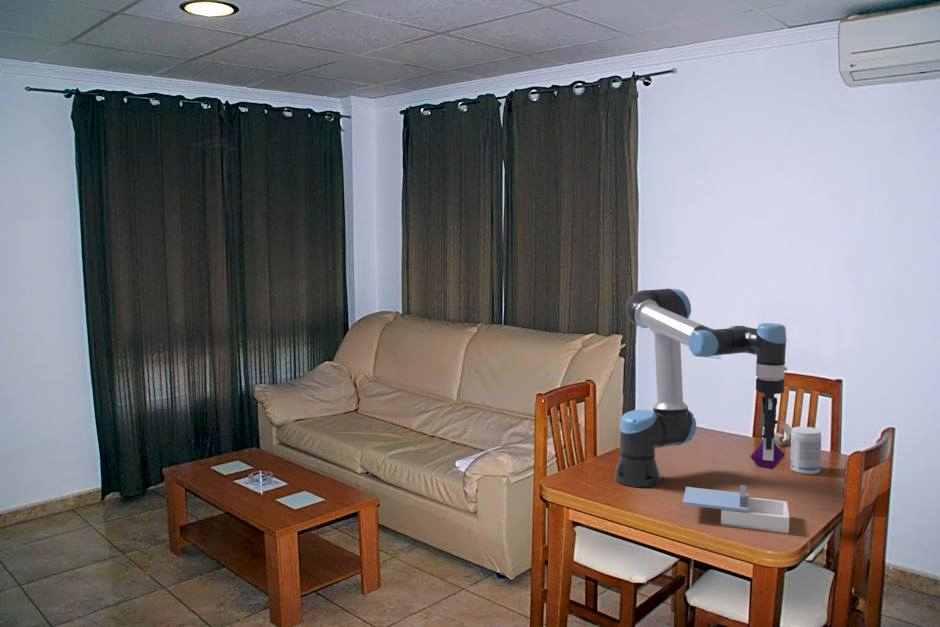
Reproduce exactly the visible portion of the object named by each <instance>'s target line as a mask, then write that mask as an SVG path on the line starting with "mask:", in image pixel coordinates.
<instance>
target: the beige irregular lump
mask: <svg viewBox="0 0 940 627" xmlns="http://www.w3.org/2000/svg"><path fill="white" fill-rule="evenodd" d="M779 426H780V428H781V430H782V431H783V432H785V434H786V438H785V435H784V434H781V433H780V432H774V435H775V437H774V443H775V444H776V445H779V446H780V447H782V446H786V445H787V446H788V445H790V446H791V432H792V427H791V426H790V424H788V423H787V422H783V421H782V422H781V423H780V424H779ZM784 438H785V439H784ZM783 439H784V440H783ZM785 444H786V445H785Z"/></svg>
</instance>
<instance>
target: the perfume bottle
mask: <svg viewBox="0 0 940 627" xmlns="http://www.w3.org/2000/svg"><path fill="white" fill-rule="evenodd" d="M776 418H777V414H775V421H774V426H775V427H776V425H777V424H778V423H779V420H776ZM762 423H765V419H764V420H762ZM770 434H772V433H770ZM763 441H764V439H763V438H762V441H761V443H760V444H759V445H758V447H756V449H755V450H754V451H753V452H752V453H751V454H750V458H751V460H752V461H753V462H754V464H755V465H756V466H757V467H758V468H762V469H768V470H774V469H775V468H776V467H777V466H778V465H779V463H781V461H782V460H783V459H784V457H785V456H786V454H785V453H784V452H783V451H782V450H781V449H780V448H779V447H778V446H777V444H775V443H774V456H773V461H769V460H763Z"/></svg>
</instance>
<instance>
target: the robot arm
mask: <svg viewBox="0 0 940 627" xmlns="http://www.w3.org/2000/svg"><path fill="white" fill-rule="evenodd" d="M625 314H626V318H628V320H629V321H630V322H631V323H633V324H634V325H635V326H638V327H640V328H642V329H648V328H649V330H650V331H652V333H653V335H654V353H655V354H654V356H655V378H656V379H655V380H656V396H657V397H656V399H657V400H656V403H655V404H654V405H653V407H652V408H653V409H652V410H651V409H633V410H630V411H627V412H626V413H624V414H623V415H622V416H621V419H620V425H619V430H620V434H619V436H620V438H619V439H620V440H619V442H620V443H619V444H620V447H619V449H620V450H619V454H620V455H619V459H618V463H617V465H616V467H615V470H614V471H615V472H614V480H615V481H616V482H617V483H619V484H620V485H623V486H627V487H631V488H633V487H634V488H650V487H655V486H657V485H659V484H660V483H661V473H660V470H659V466H658V464H657V461H656V460H657V459H656V449H658V448H659V449H660V448H665V447H673V446H681V445H683V444H688V443H690V442H691V440H692V439H693V438H694V436H695V434H696V432H697V420H696V418H695V417H694V413H693V412H692V411H690V410H689V406H688V404H686V403H685V402H684V391H683V369H682V368H683V367H682V352H681V350H682V349H681V344H683V345H684V346H687V347H688V349H689V350H690V351H691V353H692V355H694V356H695V357H702V358H703V357H704V358H709V357H714V356H726V355H734V354H742V353H743V354H750V355H754V356H756V364H755V365H756V366H755V376H756V377H757V378H756V379H755V391H757V392H758V393H761V394H763V396H761V404H762V414H763V420H764V419H765V423H763V422H762V423H763V424H762V426H763V427H762V434H761V436H760V437H761V439H762V441H763V439H764V441H763V460H769V461H773V456H774V437H775V435H774V433H775V428H776V425H775V426H774V421H775V420H776V419H775V415H777V405H778V398H777V397H776V396H775V395H777V394H778V395H780V394H782V393H785V380H784V378H785V372H786V371H788V368H787V367H786V349H787V348H786V346H787V340H788V339H787V329H786V326H785V325H784V324H781V323H771V322H770V323H769V322H768V323H767V322H765V323H759V324H758V325H757V328H754V327H749V326H745V325H731V326H730V327H728V328H717V329H714V328H711V327H708V326H705V325H703V324H701V323H698V322H696V321H695V320H692V319H689V318H690V316H691V314H692V305H691V301H690V299H689V297H688V296H687V294H686V293H685V292H684V291H683V290H681V289H678V288H662V289H658V288H657V289H643V290H639V291H636V292H634V293H632V295H630V296H629V297H628V299H627V301H626V304H625ZM763 420H762V421H763ZM770 433H772V434H770Z"/></svg>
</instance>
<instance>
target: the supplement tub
mask: <svg viewBox="0 0 940 627" xmlns="http://www.w3.org/2000/svg"><path fill="white" fill-rule="evenodd" d="M791 429H792V432H791V441H790V469H791V470H792V471H793V472H795V473H798V474H802V475H816V474H819V473H820V472H821V465H822V463H821V460H822V459H821V458H822V431H821V430H820V429H819V428H815V427H811V426H795V427H791Z"/></svg>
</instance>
